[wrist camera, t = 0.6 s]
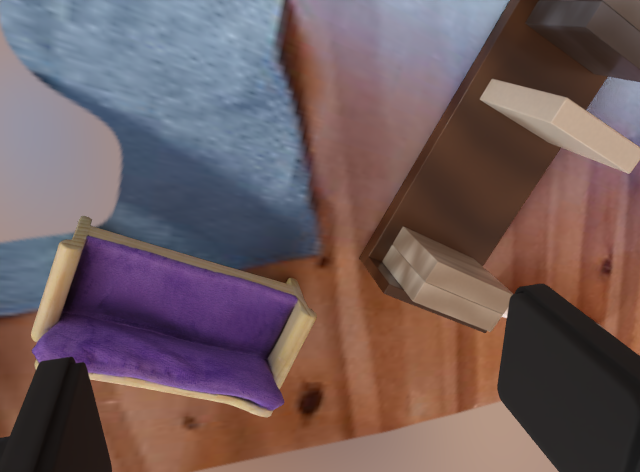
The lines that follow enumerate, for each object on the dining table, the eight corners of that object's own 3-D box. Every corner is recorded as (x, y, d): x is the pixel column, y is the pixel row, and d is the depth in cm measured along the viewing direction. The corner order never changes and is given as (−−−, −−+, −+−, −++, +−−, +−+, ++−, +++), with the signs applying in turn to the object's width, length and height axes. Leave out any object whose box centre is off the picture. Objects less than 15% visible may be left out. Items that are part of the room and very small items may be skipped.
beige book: (491, 78, 45) (567, 97, 37) (561, 123, 49) (646, 151, 40) (478, 99, 46) (550, 123, 37) (549, 143, 49) (630, 174, 41)
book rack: (549, -68, 43) (633, -84, 35) (639, 8, 48) (732, 10, 40) (358, 258, 51) (391, 305, 43) (451, 296, 56) (497, 346, 48)
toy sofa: (304, 278, 51) (331, 339, 42) (268, 351, 53) (287, 423, 44) (75, 208, 43) (47, 264, 34) (46, 296, 45) (13, 371, 36)
